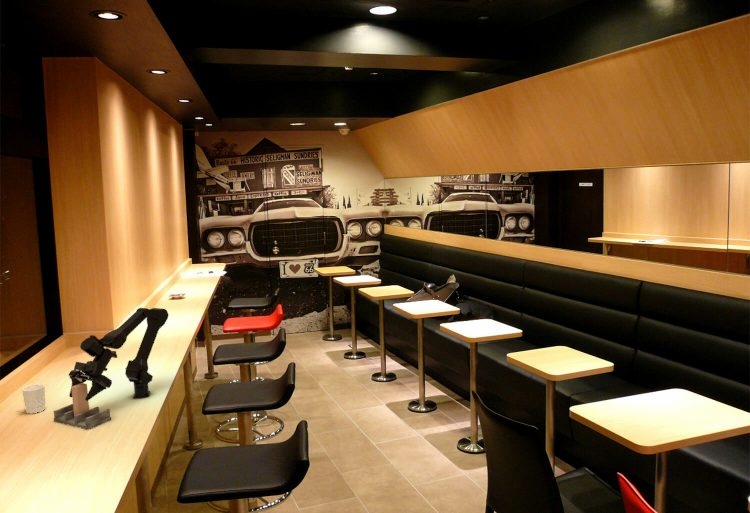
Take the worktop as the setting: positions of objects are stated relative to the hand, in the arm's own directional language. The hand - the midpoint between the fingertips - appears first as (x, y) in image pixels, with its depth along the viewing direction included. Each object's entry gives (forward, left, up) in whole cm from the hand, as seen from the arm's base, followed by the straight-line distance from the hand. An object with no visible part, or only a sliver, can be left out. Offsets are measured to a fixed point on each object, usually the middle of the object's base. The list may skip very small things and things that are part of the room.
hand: (78, 398), depth 233 cm
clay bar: (-1, +1, -8) cm, 8 cm away
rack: (-1, +1, -9) cm, 9 cm away
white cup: (-18, -20, -9) cm, 29 cm away
